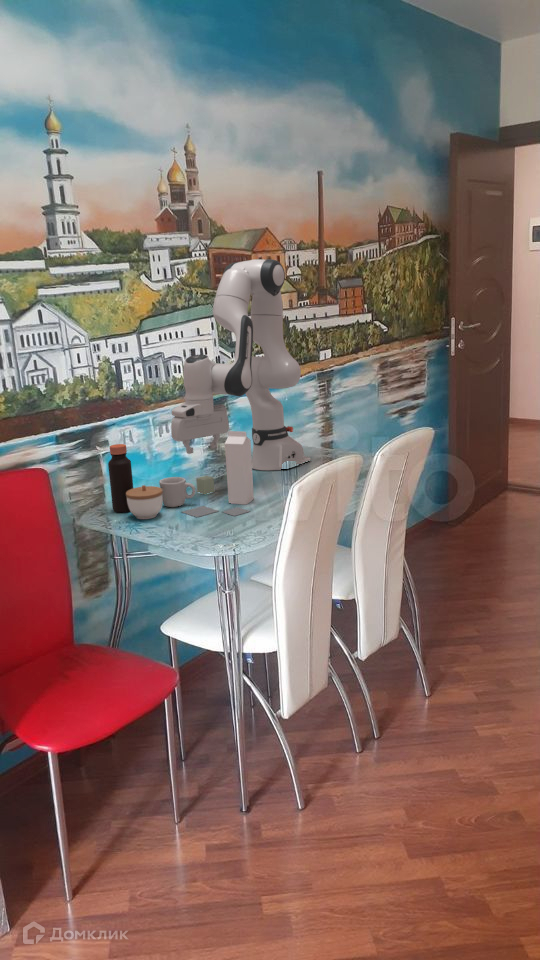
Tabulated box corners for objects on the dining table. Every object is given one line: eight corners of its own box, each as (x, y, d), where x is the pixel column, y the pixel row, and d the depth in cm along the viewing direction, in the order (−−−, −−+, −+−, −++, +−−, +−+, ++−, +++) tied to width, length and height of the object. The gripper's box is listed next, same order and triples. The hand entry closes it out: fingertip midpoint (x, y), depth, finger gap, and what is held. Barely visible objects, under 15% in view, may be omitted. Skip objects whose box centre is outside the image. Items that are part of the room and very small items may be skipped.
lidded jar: (127, 523, 240) (124, 492, 237) (128, 512, 250) (125, 482, 248) (165, 519, 241) (162, 488, 239) (164, 509, 252) (161, 479, 249)
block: (207, 490, 270) (206, 475, 269) (214, 492, 267) (213, 477, 266) (197, 492, 268) (196, 478, 267) (204, 495, 265) (203, 480, 264)
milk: (236, 498, 259) (232, 429, 254) (254, 499, 257) (250, 429, 252) (228, 503, 254) (223, 433, 248) (246, 504, 252) (242, 433, 246)
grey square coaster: (237, 507, 249) (237, 507, 249) (250, 511, 245) (250, 511, 245) (221, 512, 245) (221, 511, 245) (234, 516, 241) (234, 515, 241)
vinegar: (108, 512, 251) (101, 447, 246) (120, 506, 257) (113, 443, 252) (128, 513, 249) (122, 448, 244) (139, 507, 255) (133, 443, 250)
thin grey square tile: (202, 506, 252) (202, 505, 252) (218, 511, 247) (218, 510, 247) (181, 512, 248) (181, 511, 248) (196, 517, 242) (196, 517, 242)
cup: (198, 501, 258) (196, 476, 256) (193, 508, 251) (191, 483, 249) (164, 501, 260) (162, 477, 258) (158, 509, 252) (156, 483, 250)
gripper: (219, 402, 269) (222, 444, 273) (167, 411, 256) (170, 454, 260) (231, 404, 265) (234, 446, 268) (178, 413, 252) (181, 457, 255)
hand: (202, 450), depth 264 cm, fingers open, 8 cm apart
